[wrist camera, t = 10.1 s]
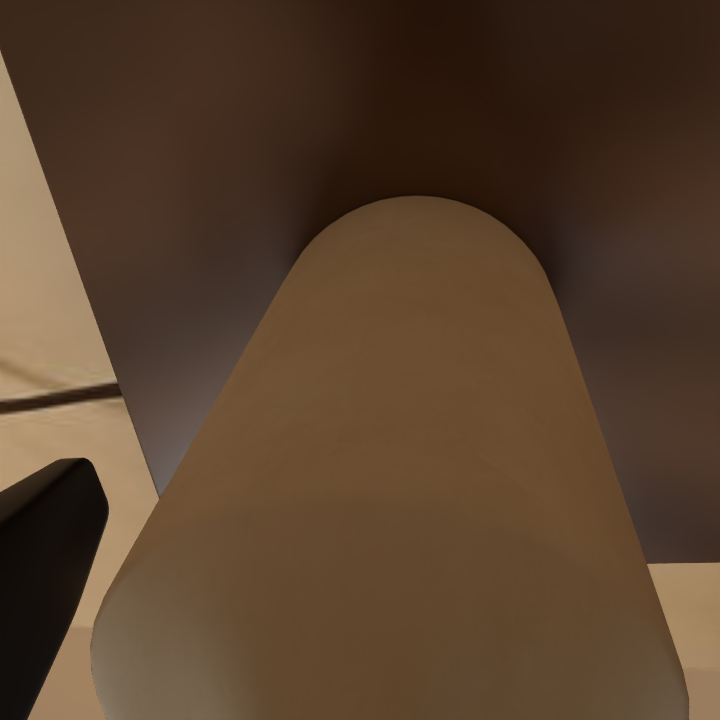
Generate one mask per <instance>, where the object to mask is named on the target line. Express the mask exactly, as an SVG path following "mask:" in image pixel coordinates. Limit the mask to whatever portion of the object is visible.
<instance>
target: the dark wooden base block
mask: <svg viewBox="0 0 720 720" xmlns="http://www.w3.org/2000/svg"><path fill="white" fill-rule="evenodd" d="M0 51H1V54H2V57H3V59H4V62H5V65H6V68H7V71H8V74H9V76H10V79H11V82H12V85H13V88H14V91H15V93H16V96H17V99H18V102H19V105H20V107H21V110H22V113H23V116H24V119H25V122H26V124H27V127H28V130H29V133H30V136H31V138H32V141H33V144H34V147H35V150H36V153H37V155H38V158H39V161H40V164H41V167H42V169H43V172H44V175H45V178H46V181H47V184H48V186H49V189H50V192H51V195H52V198H53V200H54V203H55V206H56V209H57V212H58V215H59V217H60V220H61V223H62V226H63V229H64V232H65V234H66V237H67V240H68V243H69V246H70V248H71V251H72V254H73V257H74V260H75V263H76V265H77V268H78V271H79V274H80V277H81V279H82V282H83V285H84V288H85V291H86V294H87V296H88V299H89V302H90V305H91V308H92V310H93V313H94V316H95V319H96V322H97V325H98V327H99V330H100V333H101V336H102V339H103V341H104V344H105V347H106V350H107V353H108V356H109V358H110V361H111V364H112V367H113V370H114V372H115V375H116V378H117V381H118V384H119V387H120V389H121V392H122V395H123V398H124V401H125V404H126V406H127V409H128V412H129V415H130V418H131V420H132V423H133V426H134V429H135V432H136V435H137V437H138V440H139V443H140V446H141V449H142V451H143V454H144V457H145V460H146V463H147V466H148V468H149V471H150V474H151V477H152V480H153V482H154V485H155V488H156V491H157V494H158V497H159V499H160V497H161V496H162V494H163V492H164V490H165V489H166V487H167V485H168V483H169V482H170V480H171V478H172V476H173V475H174V473H175V471H176V469H177V468H178V466H179V464H180V462H181V461H182V459H183V457H184V455H185V453H186V452H187V450H188V448H189V446H190V445H191V443H192V441H193V439H194V438H195V436H196V434H197V432H198V431H199V429H200V427H201V425H202V424H203V422H204V420H205V418H206V417H207V415H208V413H209V411H210V410H211V408H212V406H213V404H214V403H215V401H216V399H217V397H218V396H219V394H220V392H221V390H222V389H223V387H224V385H225V383H226V381H227V380H228V378H229V376H230V374H231V373H232V371H233V369H234V367H235V366H236V364H237V362H238V360H239V359H240V357H241V355H242V353H243V352H244V350H245V348H246V346H247V345H248V343H249V341H250V339H251V338H252V336H253V334H254V332H255V331H256V329H257V327H258V325H259V324H260V322H261V320H262V318H263V317H264V315H265V313H266V311H267V309H268V308H269V306H270V304H271V302H272V301H273V299H274V297H275V295H276V294H277V292H278V290H279V288H280V287H281V285H282V283H283V281H284V280H285V278H286V277H287V275H288V274H289V272H290V270H291V269H292V267H293V266H294V264H295V263H296V261H297V259H298V258H299V256H300V255H301V253H302V252H303V251H304V249H305V248H306V247H307V246H308V245H309V243H310V242H311V241H312V240H313V239H314V238H315V237H316V236H317V235H318V234H319V233H321V232H322V231H323V230H324V229H325V228H326V227H327V226H329V225H330V224H332V223H333V222H335V221H336V220H338V219H339V218H341V217H343V216H344V215H346V214H347V213H349V212H351V211H353V210H356V209H358V208H360V207H362V206H364V205H367V204H370V203H373V202H376V201H380V200H384V199H389V198H395V197H402V196H431V197H440V198H445V199H450V200H454V201H458V202H461V203H464V204H467V205H470V206H472V207H475V208H477V209H479V210H481V211H483V212H485V213H487V214H489V215H491V216H492V217H494V218H495V219H497V220H498V221H500V222H501V223H503V224H504V225H505V226H507V227H508V228H509V229H510V230H511V231H512V232H513V233H514V234H516V235H517V236H518V237H519V238H520V239H521V240H522V241H523V242H524V243H525V244H526V246H527V247H528V248H529V249H530V250H531V252H532V253H533V254H534V255H535V257H536V258H537V260H538V261H539V263H540V265H541V266H542V268H543V270H544V271H545V273H546V276H547V278H548V281H549V283H550V286H551V288H552V290H553V293H554V295H555V298H556V300H557V303H558V305H559V308H560V311H561V314H562V317H563V320H564V323H565V326H566V329H567V332H568V335H569V337H570V340H571V343H572V346H573V349H574V352H575V355H576V358H577V361H578V364H579V367H580V370H581V373H582V376H583V378H584V381H585V384H586V387H587V390H588V393H589V396H590V399H591V402H592V405H593V408H594V411H595V414H596V417H597V419H598V422H599V425H600V428H601V431H602V434H603V437H604V440H605V443H606V446H607V449H608V452H609V455H610V458H611V460H612V463H613V466H614V469H615V472H616V475H617V478H618V481H619V484H620V487H621V490H622V493H623V496H624V499H625V501H626V504H627V507H628V510H629V513H630V516H631V519H632V522H633V525H634V528H635V531H636V534H637V537H638V540H639V542H640V545H641V548H642V551H643V554H644V557H645V560H646V563H647V564H657V563H719V562H720V0H0Z"/></svg>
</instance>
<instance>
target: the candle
mask: <svg viewBox="0 0 720 720" xmlns="http://www.w3.org/2000/svg"><path fill="white" fill-rule="evenodd" d="M90 649H91V670H92V675H93V679H94V684H95V688H96V692H97V696H98V699H99V702H100V704H101V707H102V709H103V712H104V714H105V717H106V720H689V697H688V692H687V687H686V682H685V678H684V673H683V669H682V666H681V663H680V660H679V657H678V654H677V651H676V648H675V645H674V642H673V639H672V636H671V633H670V631H669V628H668V625H667V622H666V619H665V616H664V613H663V610H662V607H661V604H660V601H659V598H658V595H657V592H656V589H655V586H654V583H653V581H652V578H651V575H650V572H649V569H648V566H647V563H646V560H645V557H644V554H643V551H642V548H641V545H640V542H639V540H638V537H637V534H636V531H635V528H634V525H633V522H632V519H631V516H630V513H629V510H628V507H627V504H626V501H625V499H624V496H623V493H622V490H621V487H620V484H619V481H618V478H617V475H616V472H615V469H614V466H613V463H612V460H611V458H610V455H609V452H608V449H607V446H606V443H605V440H604V437H603V434H602V431H601V428H600V425H599V422H598V419H597V417H596V414H595V411H594V408H593V405H592V402H591V399H590V396H589V393H588V390H587V387H586V384H585V381H584V378H583V376H582V373H581V370H580V367H579V364H578V361H577V358H576V355H575V352H574V349H573V346H572V343H571V340H570V337H569V335H568V332H567V329H566V326H565V323H564V320H563V317H562V314H561V311H560V308H559V305H558V303H557V300H556V298H555V295H554V293H553V290H552V288H551V286H550V283H549V281H548V278H547V276H546V273H545V271H544V270H543V268H542V266H541V265H540V263H539V261H538V260H537V258H536V257H535V255H534V254H533V253H532V252H531V250H530V249H529V248H528V247H527V246H526V244H525V243H524V242H523V241H522V240H521V239H520V238H519V237H518V236H517V235H516V234H514V233H513V232H512V231H511V230H510V229H509V228H508V227H507V226H505V225H504V224H503V223H501V222H500V221H498V220H497V219H495V218H494V217H492V216H491V215H489V214H487V213H485V212H483V211H481V210H479V209H477V208H475V207H472V206H470V205H467V204H464V203H461V202H458V201H454V200H450V199H445V198H440V197H431V196H402V197H395V198H389V199H384V200H380V201H376V202H373V203H370V204H367V205H364V206H362V207H360V208H358V209H356V210H353V211H351V212H349V213H347V214H346V215H344V216H343V217H341V218H339V219H338V220H336V221H335V222H333V223H332V224H330V225H329V226H327V227H326V228H325V229H324V230H323V231H322V232H321V233H319V234H318V235H317V236H316V237H315V238H314V239H313V240H312V241H311V242H310V243H309V245H308V246H307V247H306V248H305V249H304V251H303V252H302V253H301V255H300V256H299V258H298V259H297V261H296V263H295V264H294V266H293V267H292V269H291V270H290V272H289V274H288V275H287V277H286V278H285V280H284V281H283V283H282V285H281V287H280V288H279V290H278V292H277V294H276V295H275V297H274V299H273V301H272V302H271V304H270V306H269V308H268V309H267V311H266V313H265V315H264V317H263V318H262V320H261V322H260V324H259V325H258V327H257V329H256V331H255V332H254V334H253V336H252V338H251V339H250V341H249V343H248V345H247V346H246V348H245V350H244V352H243V353H242V355H241V357H240V359H239V360H238V362H237V364H236V366H235V367H234V369H233V371H232V373H231V374H230V376H229V378H228V380H227V381H226V383H225V385H224V387H223V389H222V390H221V392H220V394H219V396H218V397H217V399H216V401H215V403H214V404H213V406H212V408H211V410H210V411H209V413H208V415H207V417H206V418H205V420H204V422H203V424H202V425H201V427H200V429H199V431H198V432H197V434H196V436H195V438H194V439H193V441H192V443H191V445H190V446H189V448H188V450H187V452H186V453H185V455H184V457H183V459H182V461H181V462H180V464H179V466H178V468H177V469H176V471H175V473H174V475H173V476H172V478H171V480H170V482H169V483H168V485H167V487H166V489H165V490H164V492H163V494H162V496H161V497H160V499H159V501H158V503H157V504H156V506H155V508H154V510H153V511H152V513H151V515H150V517H149V518H148V520H147V522H146V524H145V526H144V527H143V529H142V531H141V533H140V534H139V536H138V538H137V540H136V541H135V543H134V545H133V547H132V548H131V550H130V552H129V554H128V555H127V557H126V559H125V561H124V562H123V564H122V566H121V568H120V570H119V571H118V573H117V575H116V577H115V578H114V580H113V582H112V584H111V586H110V587H109V589H108V591H107V593H106V595H105V596H104V599H103V601H102V604H101V606H100V609H99V611H98V614H97V616H96V619H95V621H94V627H93V633H92V639H91V645H90Z"/></svg>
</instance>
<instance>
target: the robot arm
mask: <svg viewBox="0 0 720 720" xmlns="http://www.w3.org/2000/svg"><path fill="white" fill-rule="evenodd" d="M108 515H109V506H108V501H107V498H106V495H105V493H104V490H103V488H102V486H101V483H100V481H99V478H98V476H97V473H96V471H95V468H94V466H93V464H92V463H91V462H90V461H89V460H88V459H86V458H68V459H60V460H57V461H55V462H53V463H51V464H49V465H48V466H46V467H44V468H42V469H41V470H39V471H37V472H35V473H33V474H32V475H30V476H28V477H26V478H25V479H23V480H21V481H19V482H17V483H16V484H14V485H12V486H10V487H9V488H7V489H5V490H3V491H2V492H0V720H27V719H28V717H29V715H30V712H31V710H32V708H33V706H34V704H35V701H36V699H37V697H38V695H39V693H40V690H41V688H42V686H43V684H44V682H45V680H46V677H47V675H48V673H49V671H50V669H51V666H52V664H53V662H54V660H55V658H56V655H57V653H58V651H59V649H60V647H61V645H62V642H63V640H64V638H65V636H66V634H67V631H68V629H69V627H70V624H71V622H72V620H73V617H74V615H75V613H76V610H77V607H78V605H79V602H80V599H81V597H82V594H83V591H84V588H85V585H86V582H87V579H88V576H89V573H90V570H91V567H92V564H93V561H94V558H95V555H96V552H97V549H98V547H99V544H100V541H101V538H102V535H103V532H104V529H105V526H106V523H107V520H108Z"/></svg>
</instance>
